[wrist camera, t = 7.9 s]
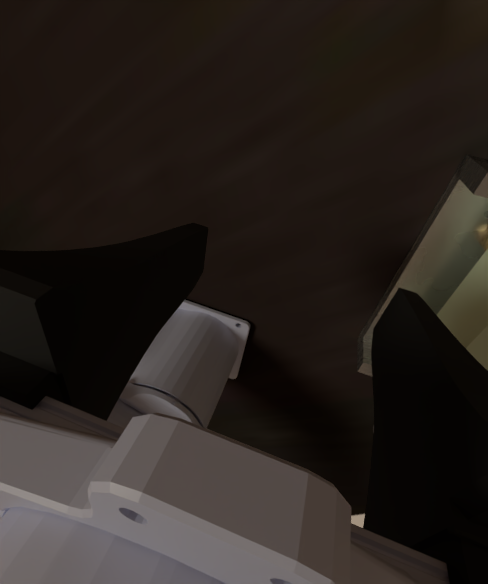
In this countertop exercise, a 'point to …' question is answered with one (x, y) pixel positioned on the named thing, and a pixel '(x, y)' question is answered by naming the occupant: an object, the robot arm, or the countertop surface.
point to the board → (470, 312)
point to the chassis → (440, 248)
